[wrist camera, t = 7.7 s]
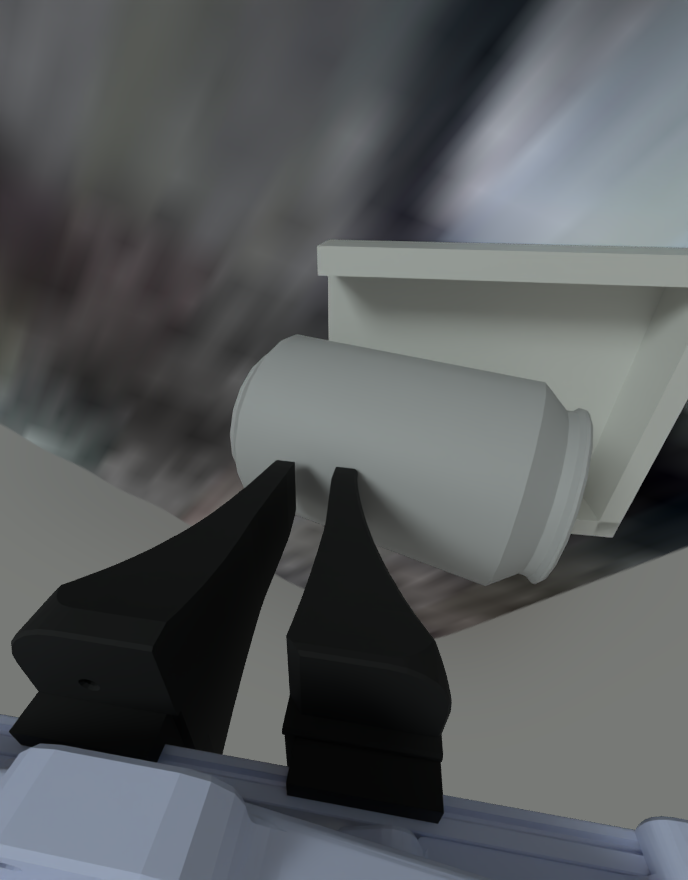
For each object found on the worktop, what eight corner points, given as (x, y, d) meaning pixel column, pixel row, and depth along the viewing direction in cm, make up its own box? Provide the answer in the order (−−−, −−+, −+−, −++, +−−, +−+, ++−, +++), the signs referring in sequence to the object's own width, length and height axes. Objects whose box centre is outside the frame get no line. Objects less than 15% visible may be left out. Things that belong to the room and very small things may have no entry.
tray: (330, 478, 23) (322, 511, 21) (329, 239, 16) (317, 245, 14) (587, 499, 22) (612, 537, 19) (702, 248, 15) (764, 257, 13)
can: (236, 529, 17) (523, 648, 13) (194, 379, 12) (624, 494, 8) (315, 435, 22) (536, 499, 18) (308, 306, 18) (602, 354, 14)
